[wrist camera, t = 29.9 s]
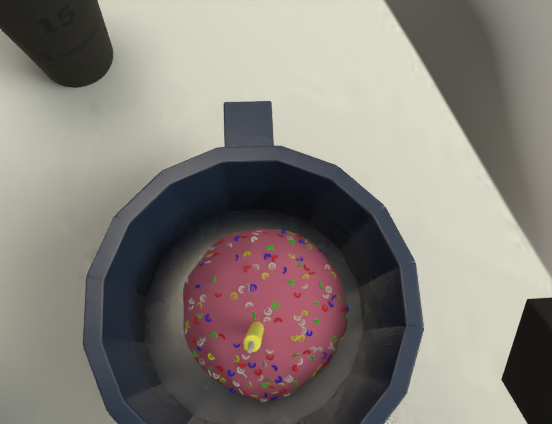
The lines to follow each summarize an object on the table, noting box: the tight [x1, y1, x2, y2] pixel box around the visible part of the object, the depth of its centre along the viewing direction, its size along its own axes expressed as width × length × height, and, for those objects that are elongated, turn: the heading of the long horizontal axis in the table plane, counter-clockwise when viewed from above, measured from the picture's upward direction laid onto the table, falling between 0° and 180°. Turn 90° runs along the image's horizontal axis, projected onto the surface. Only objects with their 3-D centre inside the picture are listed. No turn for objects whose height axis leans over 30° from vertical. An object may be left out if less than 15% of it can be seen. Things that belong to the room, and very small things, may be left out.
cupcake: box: [183, 228, 349, 402], centre depth 24 cm, size 9×8×12 cm
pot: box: [83, 101, 424, 424], centre depth 26 cm, size 15×20×9 cm
